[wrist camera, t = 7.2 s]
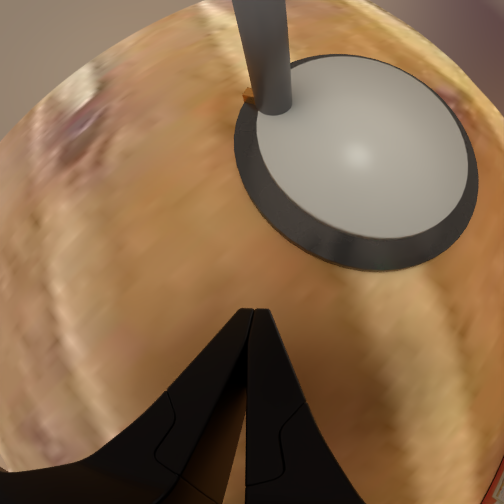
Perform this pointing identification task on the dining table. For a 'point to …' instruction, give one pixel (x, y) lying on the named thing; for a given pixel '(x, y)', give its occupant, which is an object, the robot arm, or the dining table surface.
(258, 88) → the wheel
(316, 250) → the base plate
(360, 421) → the dining table surface
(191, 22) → the dining table surface
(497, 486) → the cracker box
